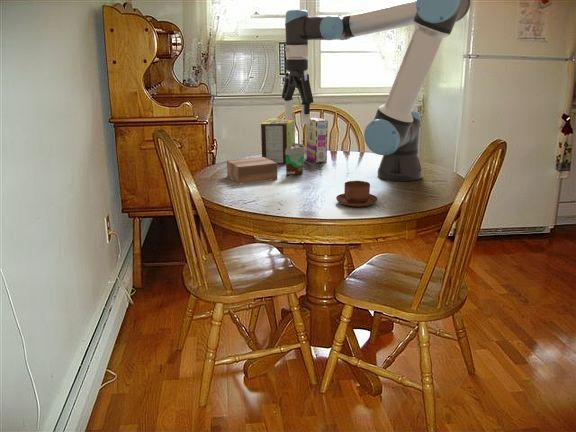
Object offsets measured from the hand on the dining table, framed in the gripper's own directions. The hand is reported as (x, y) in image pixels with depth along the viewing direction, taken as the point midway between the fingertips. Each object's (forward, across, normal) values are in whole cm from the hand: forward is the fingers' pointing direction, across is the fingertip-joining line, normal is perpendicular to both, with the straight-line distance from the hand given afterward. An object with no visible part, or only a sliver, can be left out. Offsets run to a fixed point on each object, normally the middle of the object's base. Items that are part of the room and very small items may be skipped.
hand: (297, 121), depth 200 cm
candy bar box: (+19, -18, +17) cm, 31 cm away
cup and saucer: (+19, +43, -1) cm, 47 cm away
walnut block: (+19, -1, -17) cm, 25 cm away
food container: (+19, 0, 0) cm, 19 cm away
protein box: (+19, -26, +4) cm, 33 cm away
